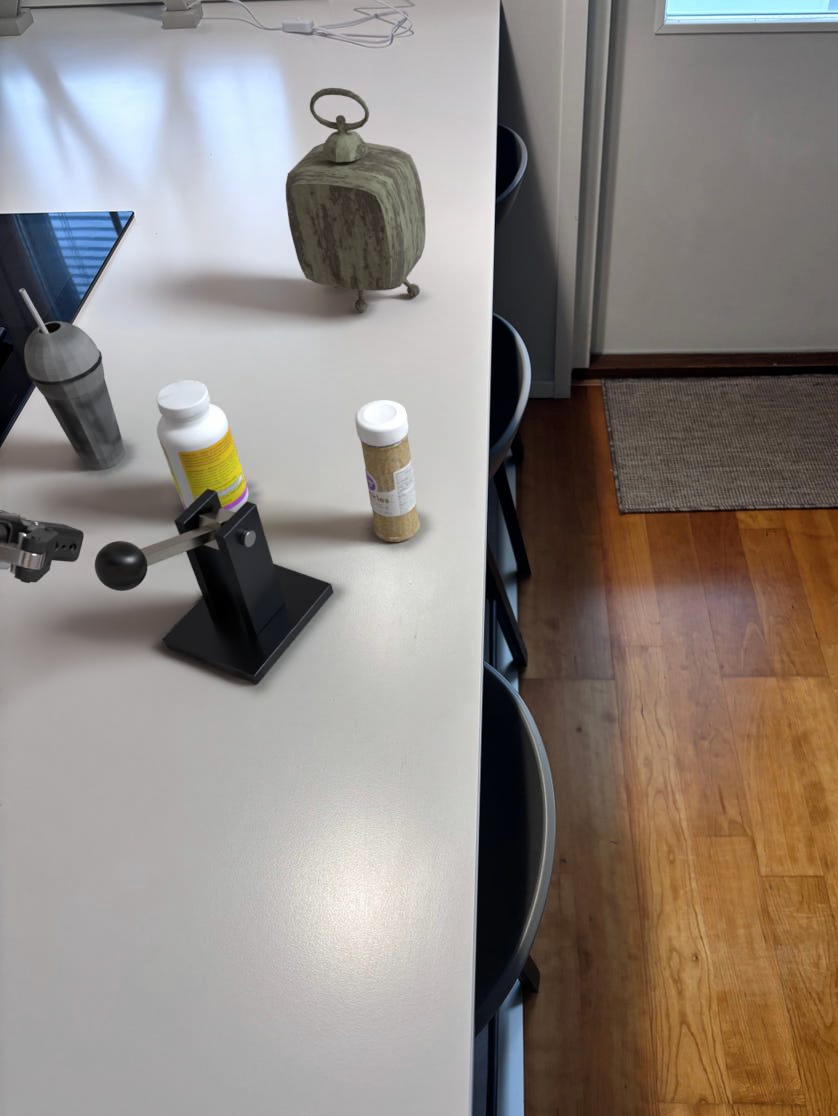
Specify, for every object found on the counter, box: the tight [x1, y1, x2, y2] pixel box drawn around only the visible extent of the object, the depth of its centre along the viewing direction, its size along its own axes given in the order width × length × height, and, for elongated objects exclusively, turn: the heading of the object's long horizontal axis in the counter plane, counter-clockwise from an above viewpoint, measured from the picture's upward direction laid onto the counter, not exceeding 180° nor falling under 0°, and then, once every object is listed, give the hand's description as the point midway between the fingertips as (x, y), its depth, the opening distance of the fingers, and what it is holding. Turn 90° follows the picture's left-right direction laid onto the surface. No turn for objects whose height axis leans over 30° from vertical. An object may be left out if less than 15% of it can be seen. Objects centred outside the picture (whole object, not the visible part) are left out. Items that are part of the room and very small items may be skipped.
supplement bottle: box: [155, 379, 249, 512], centre depth 95 cm, size 7×7×13 cm
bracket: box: [161, 489, 334, 685], centre depth 84 cm, size 12×10×13 cm
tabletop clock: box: [285, 87, 427, 313], centre depth 115 cm, size 14×9×25 cm, turn 72°
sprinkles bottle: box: [354, 399, 421, 543], centre depth 91 cm, size 5×5×13 cm
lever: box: [94, 508, 236, 592], centre depth 76 cm, size 14×4×4 cm, turn 152°
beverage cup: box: [18, 288, 126, 471], centre depth 98 cm, size 7×7×20 cm
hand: (72, 543), depth 66 cm, fingers closed
